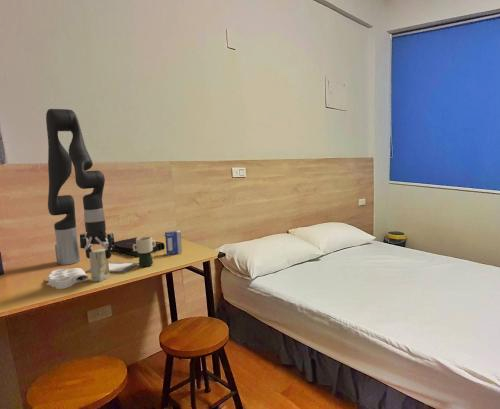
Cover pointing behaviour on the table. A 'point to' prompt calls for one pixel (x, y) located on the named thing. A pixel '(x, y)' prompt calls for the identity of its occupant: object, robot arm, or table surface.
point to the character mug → (144, 250)
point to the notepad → (119, 267)
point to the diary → (127, 247)
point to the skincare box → (99, 265)
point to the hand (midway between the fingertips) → (99, 258)
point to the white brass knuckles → (65, 277)
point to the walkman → (173, 242)
